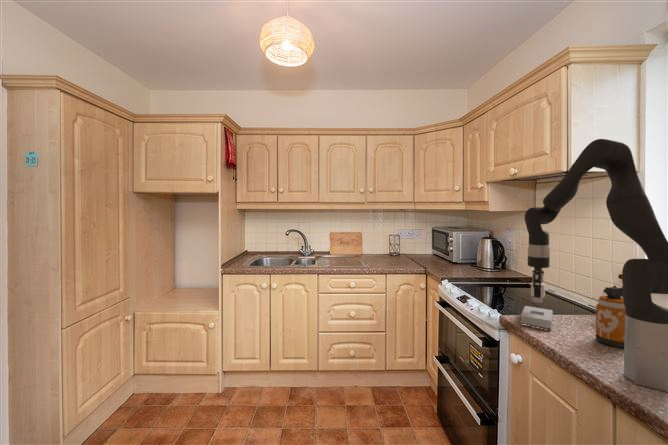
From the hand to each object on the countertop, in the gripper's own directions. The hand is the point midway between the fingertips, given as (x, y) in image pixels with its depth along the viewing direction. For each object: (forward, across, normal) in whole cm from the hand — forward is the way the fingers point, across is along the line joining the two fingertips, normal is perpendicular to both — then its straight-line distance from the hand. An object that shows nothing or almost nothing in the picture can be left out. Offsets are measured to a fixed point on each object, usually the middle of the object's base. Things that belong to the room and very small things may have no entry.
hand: (537, 295), depth 123 cm
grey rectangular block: (+11, 0, 0) cm, 11 cm away
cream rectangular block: (+2, 0, 0) cm, 2 cm away
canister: (+11, -7, -23) cm, 26 cm away
